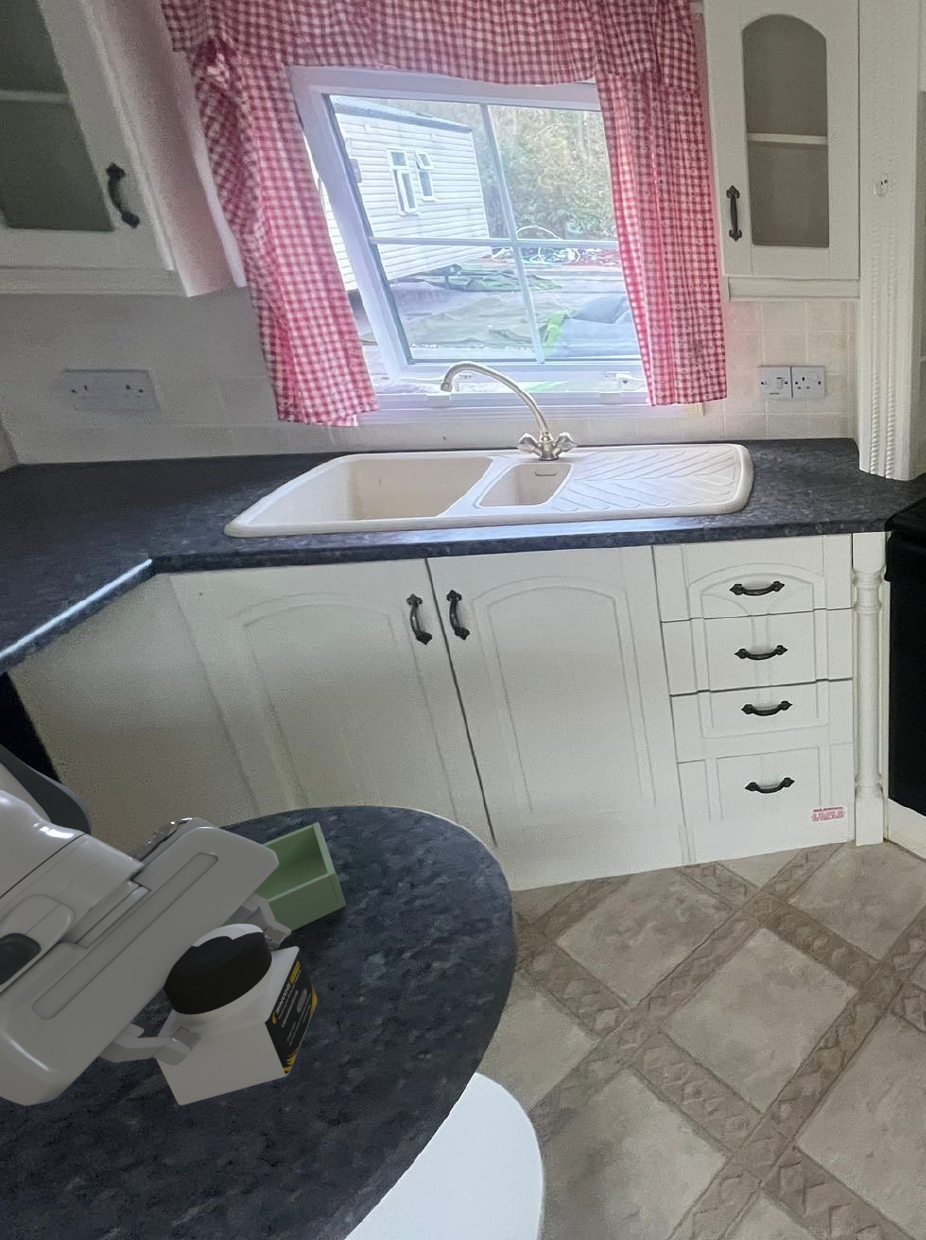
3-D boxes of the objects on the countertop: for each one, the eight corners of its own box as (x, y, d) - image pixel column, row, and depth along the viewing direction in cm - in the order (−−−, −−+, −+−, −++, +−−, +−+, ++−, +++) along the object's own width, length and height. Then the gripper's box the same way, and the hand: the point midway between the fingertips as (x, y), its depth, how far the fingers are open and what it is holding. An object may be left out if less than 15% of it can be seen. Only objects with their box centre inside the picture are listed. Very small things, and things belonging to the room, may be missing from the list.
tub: (220, 964, 81) (205, 930, 80) (212, 902, 88) (197, 869, 86) (346, 905, 89) (335, 873, 87) (329, 852, 95) (318, 821, 94)
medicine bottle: (289, 1077, 64) (248, 975, 59) (177, 1109, 61) (125, 1004, 57) (319, 999, 70) (284, 902, 66) (219, 1025, 67) (175, 925, 63)
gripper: (162, 828, 69) (308, 907, 73) (-120, 1065, 50) (99, 1152, 54) (201, 789, 68) (346, 871, 72) (-74, 1016, 49) (146, 1109, 53)
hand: (238, 994), depth 63 cm, fingers closed on medicine bottle, 8 cm apart
